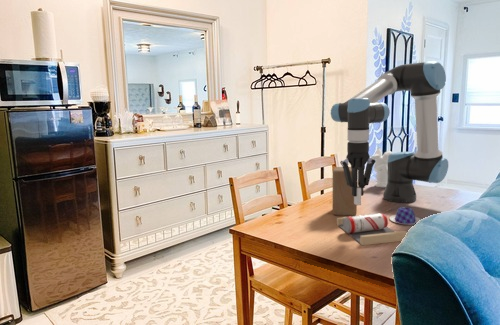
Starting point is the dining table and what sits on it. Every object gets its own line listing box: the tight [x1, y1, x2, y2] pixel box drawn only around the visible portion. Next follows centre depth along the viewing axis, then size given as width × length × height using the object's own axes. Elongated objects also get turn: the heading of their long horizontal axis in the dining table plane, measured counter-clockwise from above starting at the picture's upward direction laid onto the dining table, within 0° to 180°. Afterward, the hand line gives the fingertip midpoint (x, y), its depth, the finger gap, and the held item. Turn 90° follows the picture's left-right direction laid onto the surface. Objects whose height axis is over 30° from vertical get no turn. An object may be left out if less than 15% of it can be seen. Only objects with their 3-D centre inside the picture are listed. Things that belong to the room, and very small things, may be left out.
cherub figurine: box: [370, 146, 394, 189], centre depth 207 cm, size 12×12×22 cm
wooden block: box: [332, 166, 358, 217], centre depth 163 cm, size 10×10×20 cm
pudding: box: [389, 206, 422, 226], centre depth 151 cm, size 12×12×5 cm
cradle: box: [336, 216, 408, 246], centre depth 140 cm, size 17×22×3 cm
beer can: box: [343, 212, 389, 234], centre depth 140 cm, size 6×6×16 cm
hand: (357, 204), depth 137 cm, fingers closed
